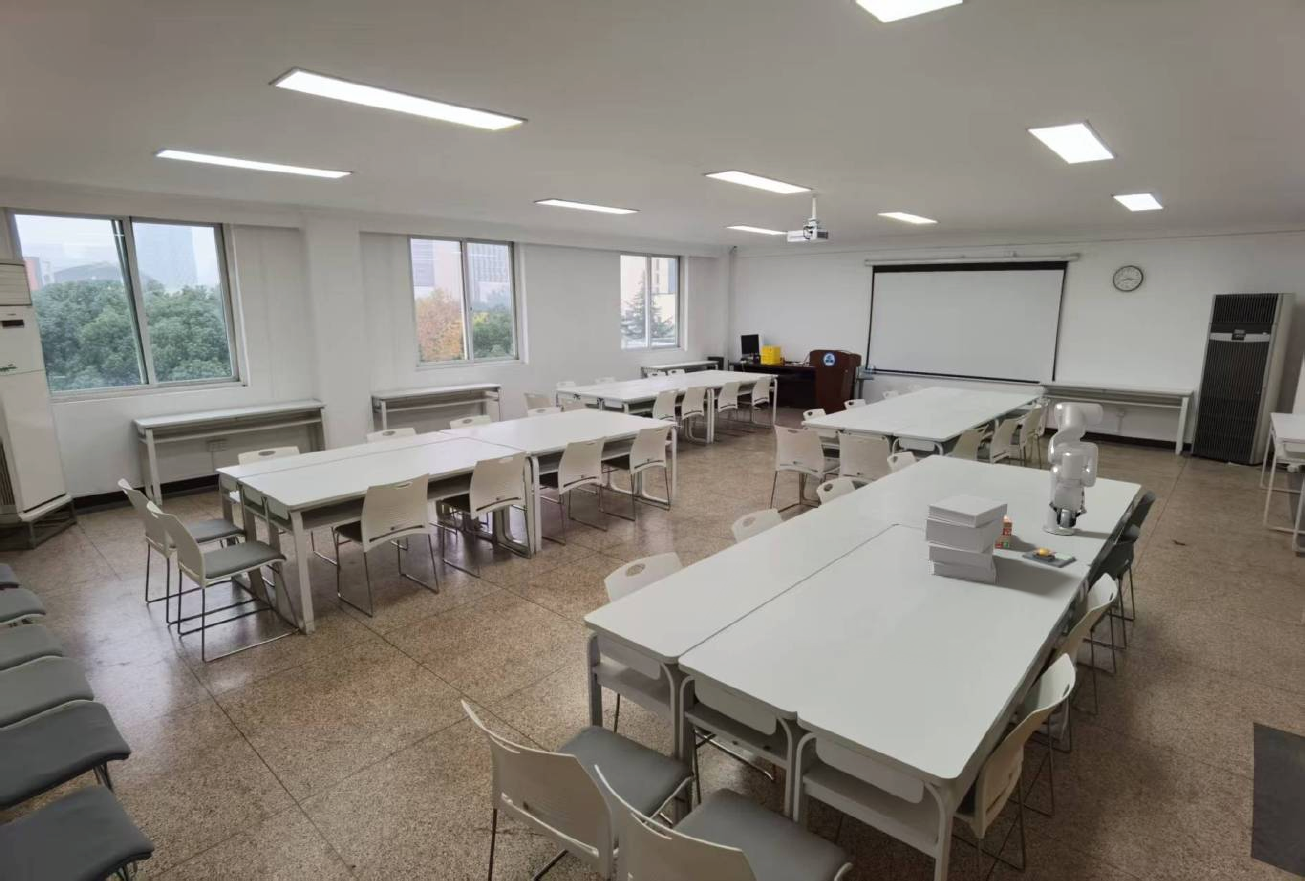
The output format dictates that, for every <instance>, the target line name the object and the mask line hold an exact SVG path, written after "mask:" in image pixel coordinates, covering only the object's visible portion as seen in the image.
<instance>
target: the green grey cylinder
mask: <svg viewBox="0 0 1305 881" xmlns="http://www.w3.org/2000/svg"><path fill="white" fill-rule="evenodd" d="M1070 518H1072V512H1071V510H1067V509H1062V511H1061V519H1060V528H1059V530H1060V531H1064V532H1071V528H1070V527H1069V525H1070Z"/></svg>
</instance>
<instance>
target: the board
mask: <svg viewBox="0 0 1305 881" xmlns="http://www.w3.org/2000/svg"><path fill="white" fill-rule="evenodd" d="M1039 549H1046V548H1043V547H1038V548H1037V547H1036V548H1034V549H1032V550H1030V551H1028V552H1026V553H1023V554H1022V555H1021V557H1022V558H1023V557H1024V559H1026V558H1027V559H1026V560H1030V561H1033V560H1034V561H1033V562H1037V563H1041V564H1045V565H1048V566H1052V567H1054V568H1055V567H1056V568H1060V567H1062V566H1064V565H1067V564H1069V563H1070V562H1072V561H1074V559H1075V560H1076V557H1075V556H1073V555H1069V554H1066V553H1062V552H1058V551H1054V550H1050V549H1048V548H1047V549H1046V550H1049V551H1050V552H1049V557H1043V556H1040V555H1039Z"/></svg>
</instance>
